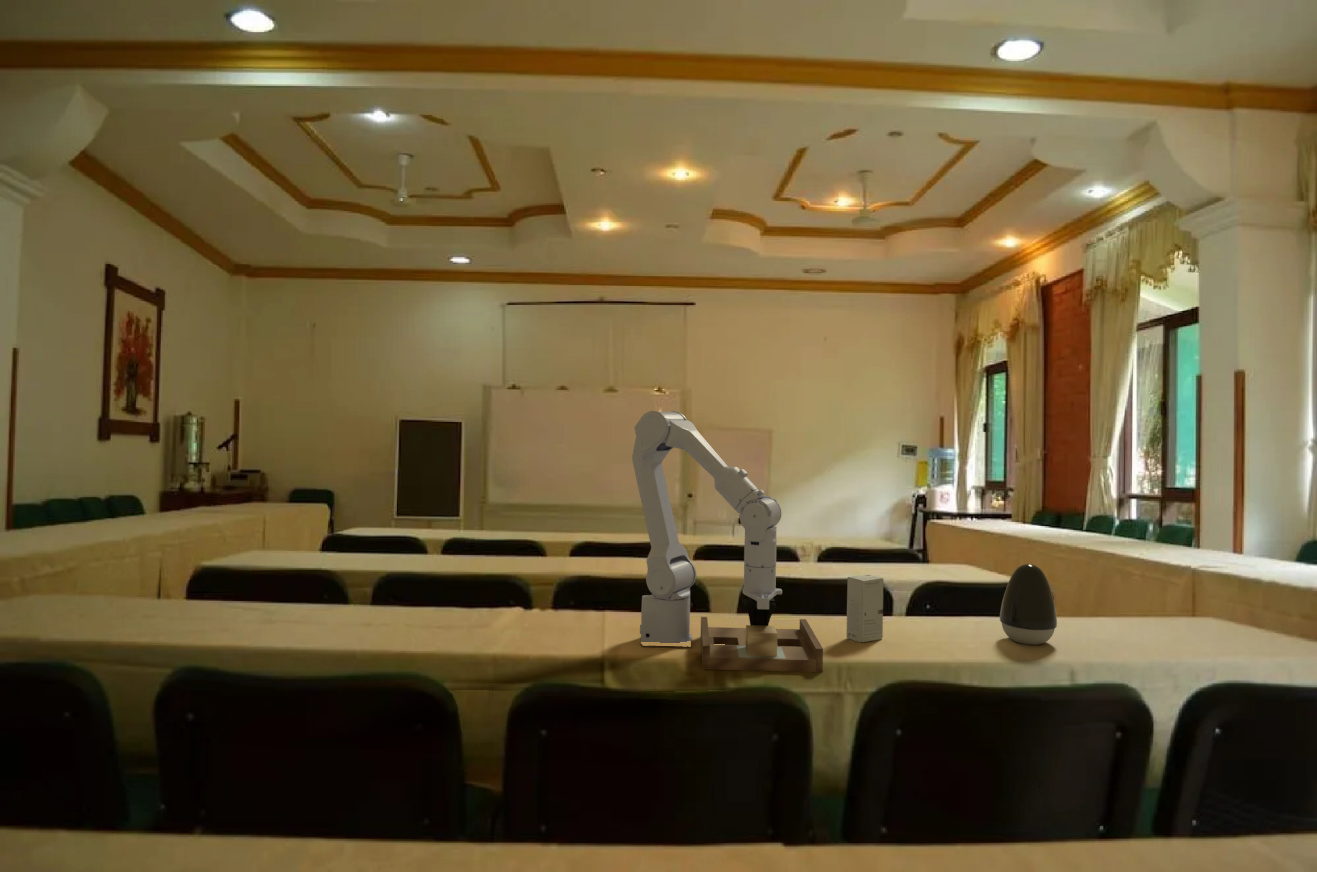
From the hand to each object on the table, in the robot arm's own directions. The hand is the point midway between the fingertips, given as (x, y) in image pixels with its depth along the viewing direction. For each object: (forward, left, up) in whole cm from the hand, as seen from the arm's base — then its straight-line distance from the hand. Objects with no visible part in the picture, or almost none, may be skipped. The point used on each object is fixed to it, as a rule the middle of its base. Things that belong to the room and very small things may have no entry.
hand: (758, 639), depth 147 cm
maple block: (0, -4, -1) cm, 4 cm away
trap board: (0, +2, -3) cm, 4 cm away
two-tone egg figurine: (+54, +15, -3) cm, 56 cm away
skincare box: (+22, +14, -3) cm, 26 cm away
